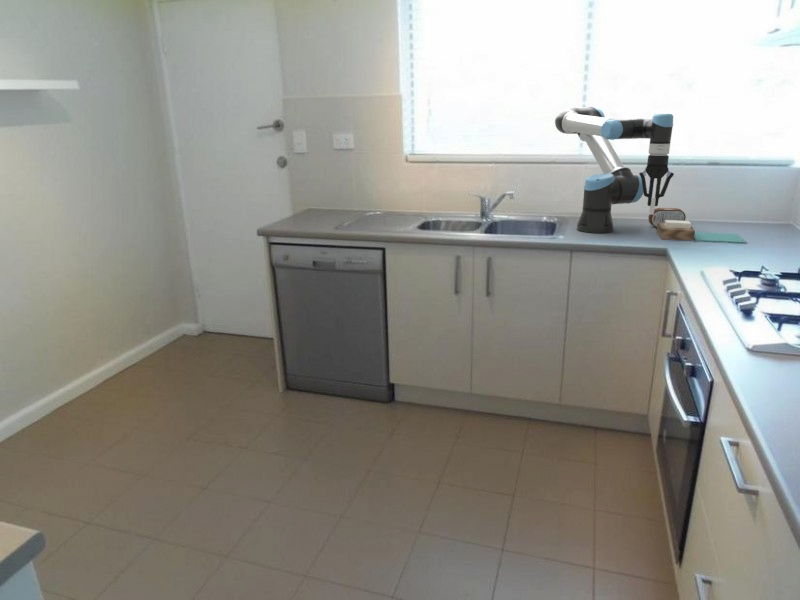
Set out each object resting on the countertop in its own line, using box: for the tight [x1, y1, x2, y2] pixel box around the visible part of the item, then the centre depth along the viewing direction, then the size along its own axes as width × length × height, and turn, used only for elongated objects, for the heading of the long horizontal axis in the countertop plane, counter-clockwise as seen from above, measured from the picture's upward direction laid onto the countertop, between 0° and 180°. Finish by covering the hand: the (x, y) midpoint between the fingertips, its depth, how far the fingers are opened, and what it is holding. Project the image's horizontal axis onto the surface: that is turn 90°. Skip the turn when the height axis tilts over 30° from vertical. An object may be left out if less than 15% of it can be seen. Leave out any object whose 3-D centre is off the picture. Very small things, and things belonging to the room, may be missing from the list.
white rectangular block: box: [664, 220, 692, 229], centre depth 233 cm, size 9×6×2 cm, turn 73°
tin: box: [648, 207, 687, 228], centre depth 251 cm, size 15×3×8 cm, turn 84°
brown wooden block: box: [656, 223, 696, 241], centre depth 234 cm, size 12×14×4 cm
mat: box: [694, 231, 748, 244], centre depth 230 cm, size 18×16×1 cm
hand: (651, 213), depth 234 cm, fingers closed
